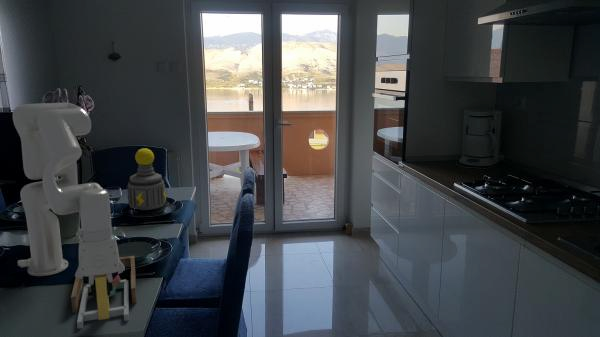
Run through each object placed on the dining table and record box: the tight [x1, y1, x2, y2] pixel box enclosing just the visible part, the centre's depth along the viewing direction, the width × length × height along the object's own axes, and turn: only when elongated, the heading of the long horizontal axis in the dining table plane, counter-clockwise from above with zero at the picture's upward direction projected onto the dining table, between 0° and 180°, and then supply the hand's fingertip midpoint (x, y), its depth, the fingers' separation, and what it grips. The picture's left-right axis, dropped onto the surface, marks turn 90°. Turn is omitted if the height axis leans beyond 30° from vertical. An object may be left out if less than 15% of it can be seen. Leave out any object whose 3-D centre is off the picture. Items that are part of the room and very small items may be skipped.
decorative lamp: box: [126, 147, 167, 211], centre depth 232 cm, size 19×19×30 cm
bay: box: [70, 255, 137, 314], centre depth 147 cm, size 18×25×5 cm
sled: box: [76, 274, 130, 329], centre depth 136 cm, size 13×22×13 cm, turn 20°
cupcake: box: [94, 274, 122, 298], centre depth 143 cm, size 9×8×12 cm
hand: (102, 293), depth 129 cm, fingers closed on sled, 2 cm apart
